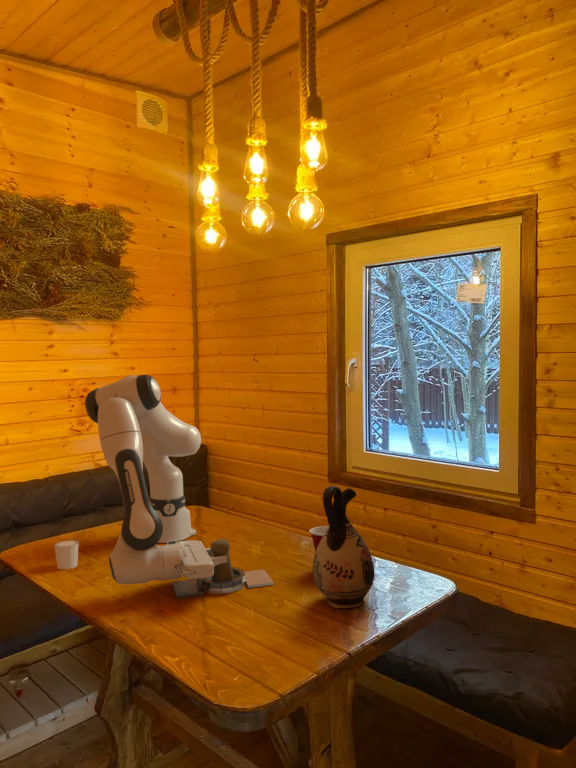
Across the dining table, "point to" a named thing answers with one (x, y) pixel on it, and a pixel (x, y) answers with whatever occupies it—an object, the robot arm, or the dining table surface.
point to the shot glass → (66, 554)
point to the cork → (224, 569)
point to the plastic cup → (318, 535)
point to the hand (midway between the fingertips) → (224, 555)
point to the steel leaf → (244, 582)
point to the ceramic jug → (342, 555)
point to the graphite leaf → (195, 585)
